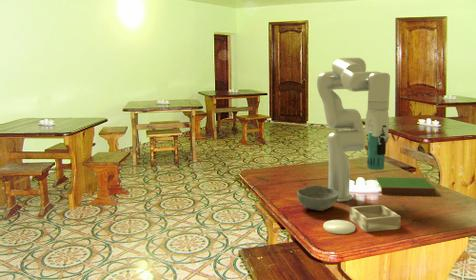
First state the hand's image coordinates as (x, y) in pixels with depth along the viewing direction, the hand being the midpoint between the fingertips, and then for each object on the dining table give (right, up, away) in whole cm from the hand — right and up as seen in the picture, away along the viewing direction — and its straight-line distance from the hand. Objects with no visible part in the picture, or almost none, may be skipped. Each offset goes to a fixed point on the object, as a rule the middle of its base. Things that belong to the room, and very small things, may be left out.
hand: (376, 152), depth 162 cm
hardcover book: (+30, -20, +49) cm, 61 cm away
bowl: (-18, -26, +24) cm, 39 cm away
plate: (-14, -29, +1) cm, 32 cm away
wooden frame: (+1, -28, +5) cm, 29 cm away
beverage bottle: (0, -8, +2) cm, 8 cm away
